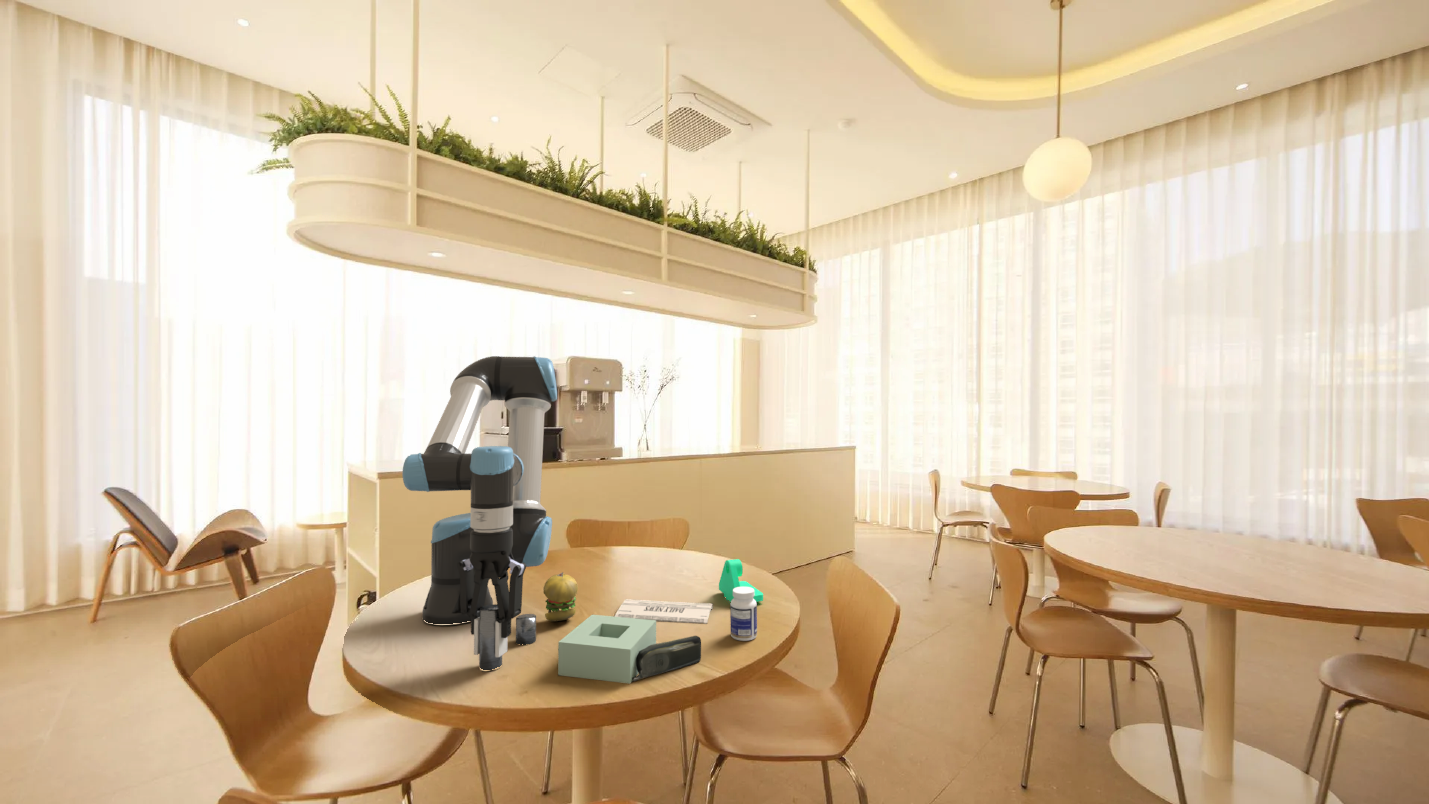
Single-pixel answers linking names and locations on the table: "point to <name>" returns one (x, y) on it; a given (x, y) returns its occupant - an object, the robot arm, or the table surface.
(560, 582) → the hamburger
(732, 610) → the pill bottle
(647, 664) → the mobile phone
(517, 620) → the short pin
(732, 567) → the camera mount
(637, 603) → the newspaper
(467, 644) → the table surface
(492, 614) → the long pin
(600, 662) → the guide block
